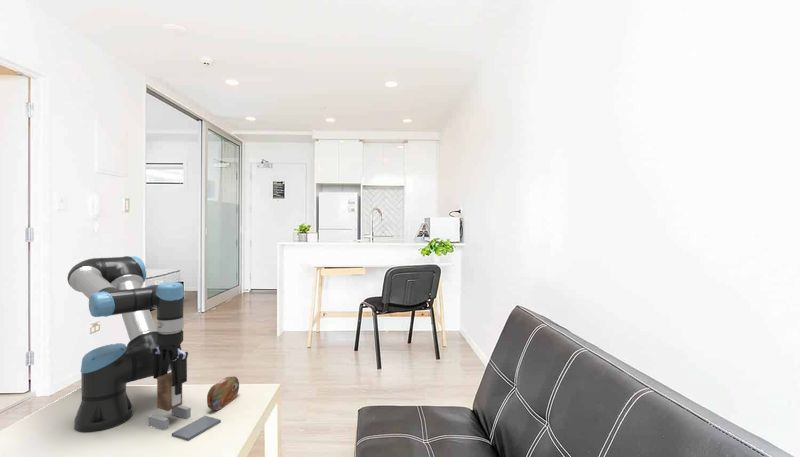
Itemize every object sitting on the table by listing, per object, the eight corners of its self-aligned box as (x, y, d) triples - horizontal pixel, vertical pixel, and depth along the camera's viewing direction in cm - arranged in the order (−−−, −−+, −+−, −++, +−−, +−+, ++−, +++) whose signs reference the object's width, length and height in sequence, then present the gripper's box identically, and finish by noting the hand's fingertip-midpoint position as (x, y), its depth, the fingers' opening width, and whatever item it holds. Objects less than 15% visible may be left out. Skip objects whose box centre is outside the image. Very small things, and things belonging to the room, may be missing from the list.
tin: (213, 414, 133) (213, 389, 133) (205, 413, 134) (205, 388, 134) (239, 395, 148) (240, 373, 148) (232, 394, 148) (232, 372, 148)
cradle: (148, 425, 125) (148, 416, 125) (175, 412, 134) (175, 403, 134) (163, 430, 122) (163, 420, 122) (190, 416, 131) (190, 407, 131)
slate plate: (171, 435, 119) (171, 433, 119) (204, 417, 130) (204, 415, 130) (188, 440, 117) (188, 438, 117) (220, 422, 128) (220, 419, 128)
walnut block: (157, 408, 127) (157, 377, 127) (171, 401, 132) (171, 371, 131) (168, 411, 125) (168, 379, 125) (182, 404, 130) (182, 374, 129)
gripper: (139, 330, 128) (139, 401, 128) (179, 337, 121) (179, 413, 121) (161, 325, 135) (161, 392, 135) (200, 331, 128) (199, 402, 128)
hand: (169, 402), depth 128 cm, fingers closed on walnut block, 5 cm apart
